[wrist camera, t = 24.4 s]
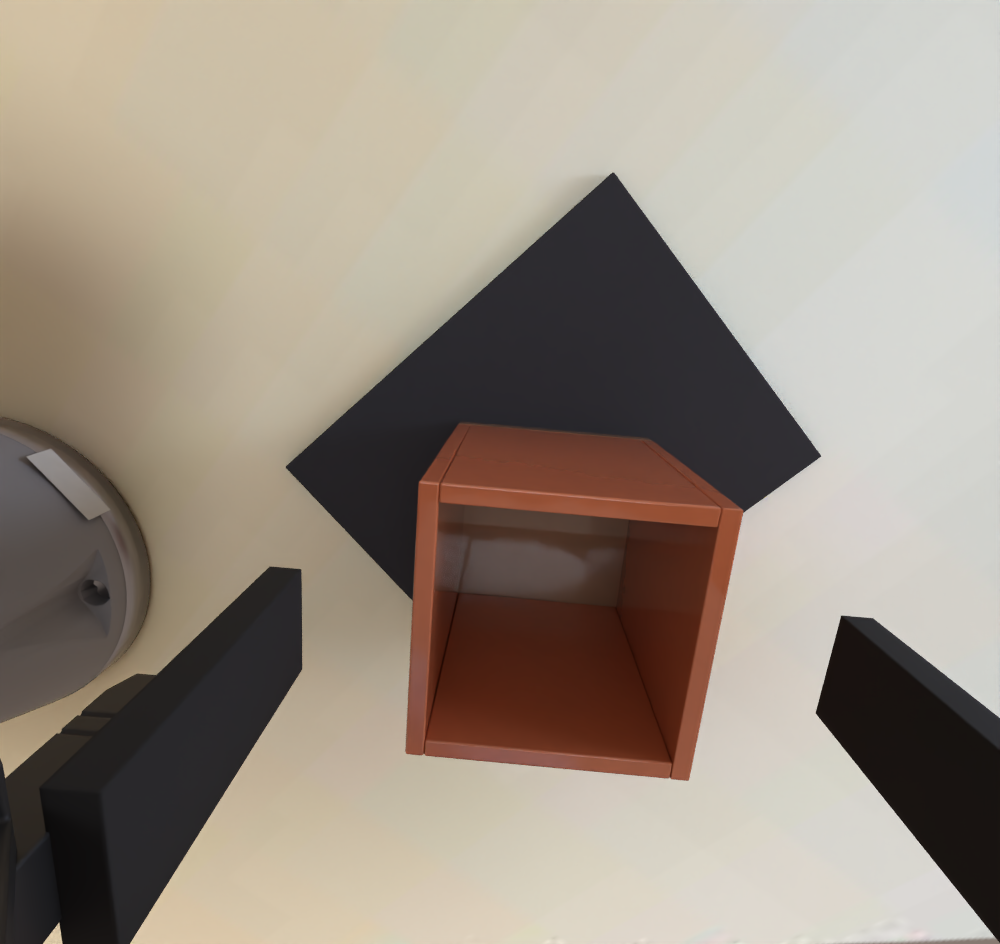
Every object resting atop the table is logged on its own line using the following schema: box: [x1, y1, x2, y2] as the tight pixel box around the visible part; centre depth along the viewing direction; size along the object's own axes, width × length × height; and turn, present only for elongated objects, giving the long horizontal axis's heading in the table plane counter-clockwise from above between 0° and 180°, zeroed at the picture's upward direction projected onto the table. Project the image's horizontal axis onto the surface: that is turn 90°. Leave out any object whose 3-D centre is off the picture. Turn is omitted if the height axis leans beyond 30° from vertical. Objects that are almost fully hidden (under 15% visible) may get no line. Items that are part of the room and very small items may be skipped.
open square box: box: [405, 421, 743, 781], centre depth 21 cm, size 11×9×9 cm
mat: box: [286, 172, 821, 601], centre depth 26 cm, size 20×16×1 cm
